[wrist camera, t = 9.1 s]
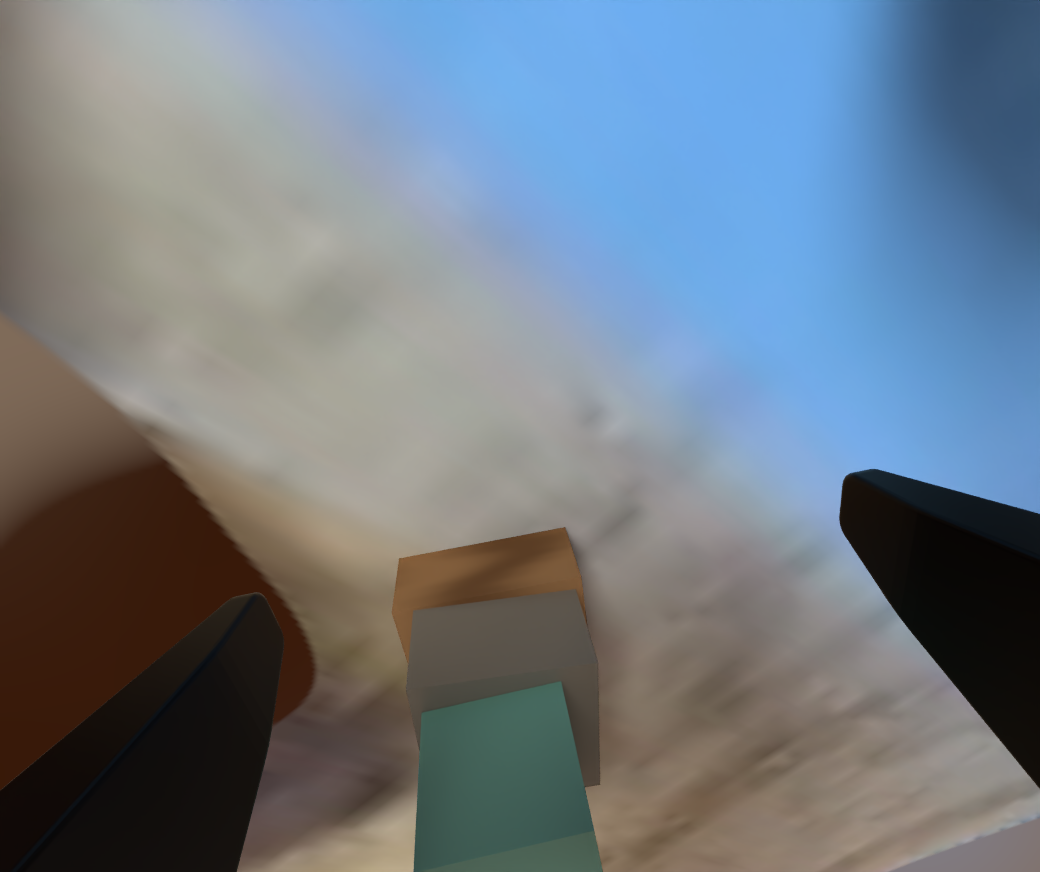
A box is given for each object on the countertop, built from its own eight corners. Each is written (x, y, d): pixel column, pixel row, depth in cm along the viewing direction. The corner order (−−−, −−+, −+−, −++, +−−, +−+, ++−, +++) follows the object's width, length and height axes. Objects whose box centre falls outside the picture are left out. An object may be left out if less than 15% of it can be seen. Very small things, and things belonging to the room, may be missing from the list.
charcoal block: (575, 588, 21) (598, 662, 18) (579, 702, 23) (600, 784, 20) (413, 610, 20) (406, 689, 17) (435, 723, 23) (432, 810, 20)
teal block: (561, 681, 18) (594, 830, 14) (579, 769, 20) (613, 923, 16) (421, 712, 18) (413, 872, 14) (454, 798, 20) (455, 961, 16)
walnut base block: (563, 523, 24) (581, 576, 21) (580, 645, 27) (597, 707, 24) (399, 554, 23) (391, 612, 20) (434, 673, 26) (432, 740, 23)
